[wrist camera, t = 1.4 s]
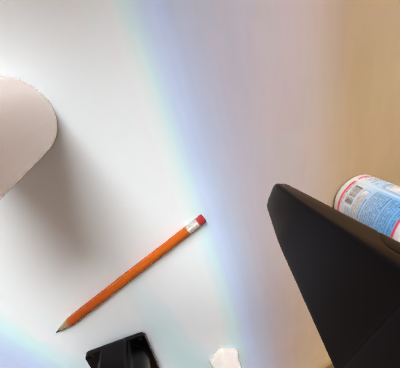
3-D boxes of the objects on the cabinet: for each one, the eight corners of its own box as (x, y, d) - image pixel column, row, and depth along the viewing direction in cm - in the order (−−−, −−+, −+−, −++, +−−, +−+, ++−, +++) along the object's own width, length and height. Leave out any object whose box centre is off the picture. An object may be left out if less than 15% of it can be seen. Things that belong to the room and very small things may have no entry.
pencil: (205, 218, 27) (207, 223, 26) (59, 331, 28) (57, 339, 27) (200, 213, 27) (202, 217, 26) (53, 327, 27) (50, 334, 27)
